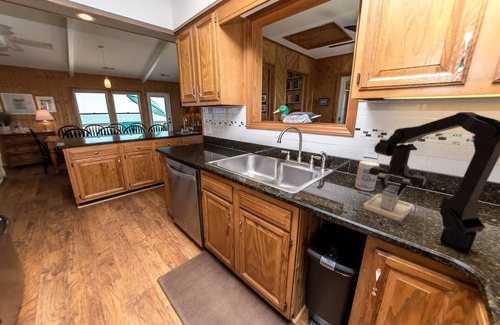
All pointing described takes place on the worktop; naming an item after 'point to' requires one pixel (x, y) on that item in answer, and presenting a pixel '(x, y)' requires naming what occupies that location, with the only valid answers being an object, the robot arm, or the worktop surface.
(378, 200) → the dish
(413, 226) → the worktop surface
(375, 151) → the robot arm
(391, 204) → the medicine box
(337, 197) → the worktop surface
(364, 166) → the supplement tub
